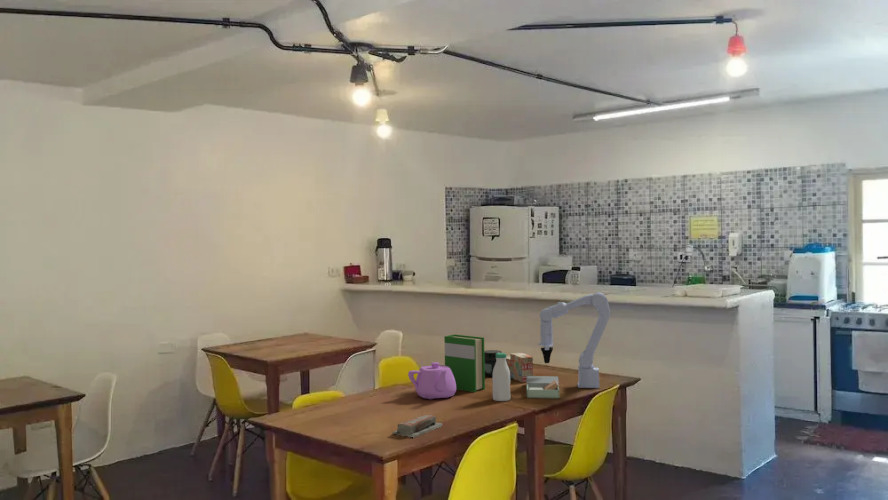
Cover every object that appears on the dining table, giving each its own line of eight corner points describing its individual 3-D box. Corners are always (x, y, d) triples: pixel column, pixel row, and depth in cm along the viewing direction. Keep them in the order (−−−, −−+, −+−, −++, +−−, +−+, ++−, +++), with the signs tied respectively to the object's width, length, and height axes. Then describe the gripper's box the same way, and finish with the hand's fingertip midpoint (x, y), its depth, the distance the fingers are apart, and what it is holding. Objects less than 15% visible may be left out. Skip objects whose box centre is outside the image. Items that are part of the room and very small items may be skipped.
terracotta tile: (558, 383, 322) (555, 379, 322) (558, 386, 316) (555, 382, 316) (547, 390, 322) (544, 387, 322) (547, 393, 316) (544, 390, 316)
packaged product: (414, 426, 254) (392, 422, 259) (414, 439, 254) (392, 435, 259) (442, 414, 269) (420, 411, 274) (442, 427, 269) (421, 424, 274)
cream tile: (542, 390, 314) (542, 395, 314) (542, 387, 320) (542, 392, 320) (529, 390, 314) (529, 395, 314) (529, 387, 320) (529, 392, 320)
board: (557, 384, 337) (557, 376, 337) (559, 392, 322) (558, 383, 322) (526, 384, 339) (526, 376, 338) (526, 391, 324) (526, 382, 324)
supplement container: (506, 374, 364) (506, 350, 363) (496, 378, 355) (496, 353, 355) (488, 372, 369) (488, 349, 369) (478, 376, 360) (478, 352, 360)
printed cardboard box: (502, 374, 363) (502, 350, 363) (513, 373, 366) (513, 349, 365) (521, 382, 343) (521, 357, 343) (533, 381, 346) (533, 356, 345)
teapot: (404, 394, 322) (403, 361, 322) (448, 390, 328) (448, 358, 328) (417, 406, 300) (416, 370, 300) (464, 402, 307) (464, 366, 306)
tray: (558, 392, 322) (558, 384, 322) (559, 398, 310) (559, 390, 310) (527, 391, 324) (527, 383, 324) (526, 397, 312) (526, 389, 312)
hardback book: (484, 389, 330) (484, 337, 329) (475, 392, 324) (474, 339, 324) (455, 384, 341) (454, 334, 341) (445, 387, 336) (444, 336, 335)
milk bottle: (509, 401, 305) (508, 355, 305) (491, 401, 307) (490, 354, 306) (511, 397, 313) (510, 352, 312) (494, 397, 314) (493, 351, 314)
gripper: (537, 331, 344) (538, 360, 344) (538, 336, 330) (538, 365, 330) (552, 331, 343) (553, 360, 343) (553, 336, 329) (553, 365, 329)
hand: (546, 363), depth 337 cm, fingers closed
